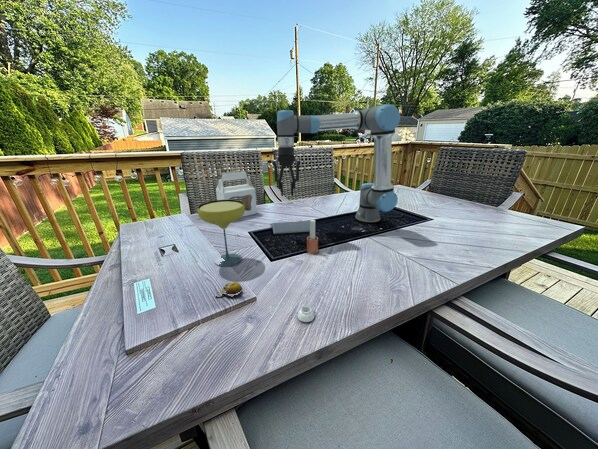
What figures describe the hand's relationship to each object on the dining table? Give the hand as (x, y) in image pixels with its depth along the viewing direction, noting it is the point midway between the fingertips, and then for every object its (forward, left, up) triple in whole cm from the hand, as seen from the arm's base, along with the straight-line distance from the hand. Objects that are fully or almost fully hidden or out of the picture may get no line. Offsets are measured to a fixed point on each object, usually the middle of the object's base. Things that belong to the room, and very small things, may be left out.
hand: (287, 195), depth 124 cm
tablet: (-4, -11, -23) cm, 25 cm away
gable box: (+29, -43, -23) cm, 57 cm away
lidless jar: (+2, +62, -23) cm, 66 cm away
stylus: (-9, +20, -22) cm, 31 cm away
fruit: (+26, +45, -23) cm, 57 cm away
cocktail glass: (+29, +22, -23) cm, 43 cm away
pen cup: (-9, +20, -23) cm, 31 cm away
